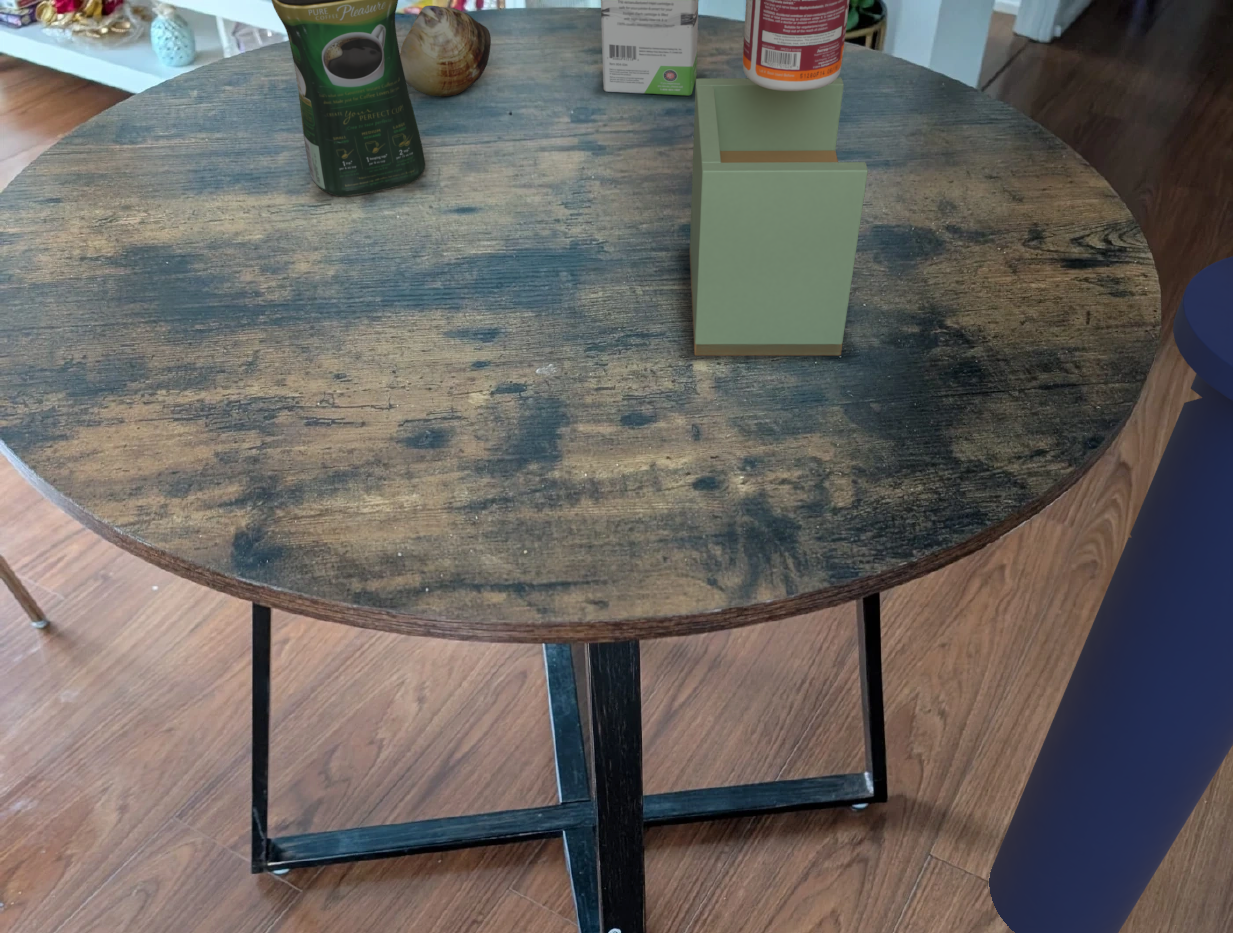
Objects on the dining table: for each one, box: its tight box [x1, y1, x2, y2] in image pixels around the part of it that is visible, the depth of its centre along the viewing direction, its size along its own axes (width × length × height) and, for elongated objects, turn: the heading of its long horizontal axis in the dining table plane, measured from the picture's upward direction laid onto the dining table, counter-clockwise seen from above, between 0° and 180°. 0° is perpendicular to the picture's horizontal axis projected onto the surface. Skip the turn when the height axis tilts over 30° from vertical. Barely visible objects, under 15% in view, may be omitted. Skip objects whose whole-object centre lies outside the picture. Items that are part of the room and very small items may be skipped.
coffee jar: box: [271, 0, 426, 197], centre depth 92 cm, size 10×8×19 cm
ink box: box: [600, 0, 699, 96], centre depth 107 cm, size 9×5×12 cm, turn 80°
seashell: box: [400, 5, 492, 97], centre depth 107 cm, size 10×6×8 cm, turn 127°
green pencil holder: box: [689, 77, 869, 356], centre depth 79 cm, size 10×14×13 cm
